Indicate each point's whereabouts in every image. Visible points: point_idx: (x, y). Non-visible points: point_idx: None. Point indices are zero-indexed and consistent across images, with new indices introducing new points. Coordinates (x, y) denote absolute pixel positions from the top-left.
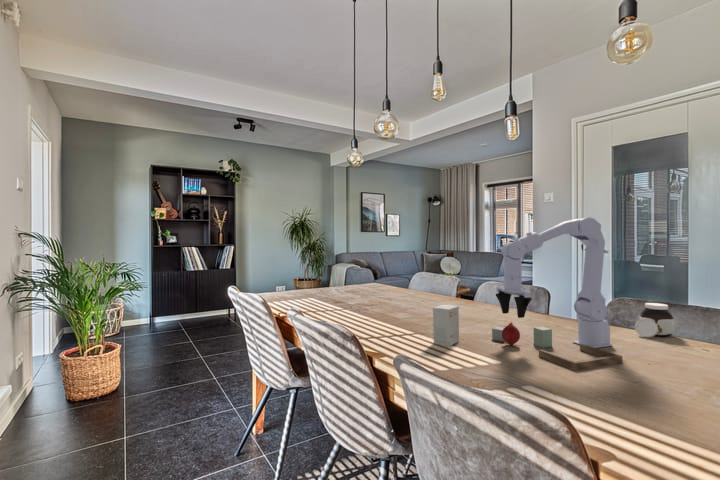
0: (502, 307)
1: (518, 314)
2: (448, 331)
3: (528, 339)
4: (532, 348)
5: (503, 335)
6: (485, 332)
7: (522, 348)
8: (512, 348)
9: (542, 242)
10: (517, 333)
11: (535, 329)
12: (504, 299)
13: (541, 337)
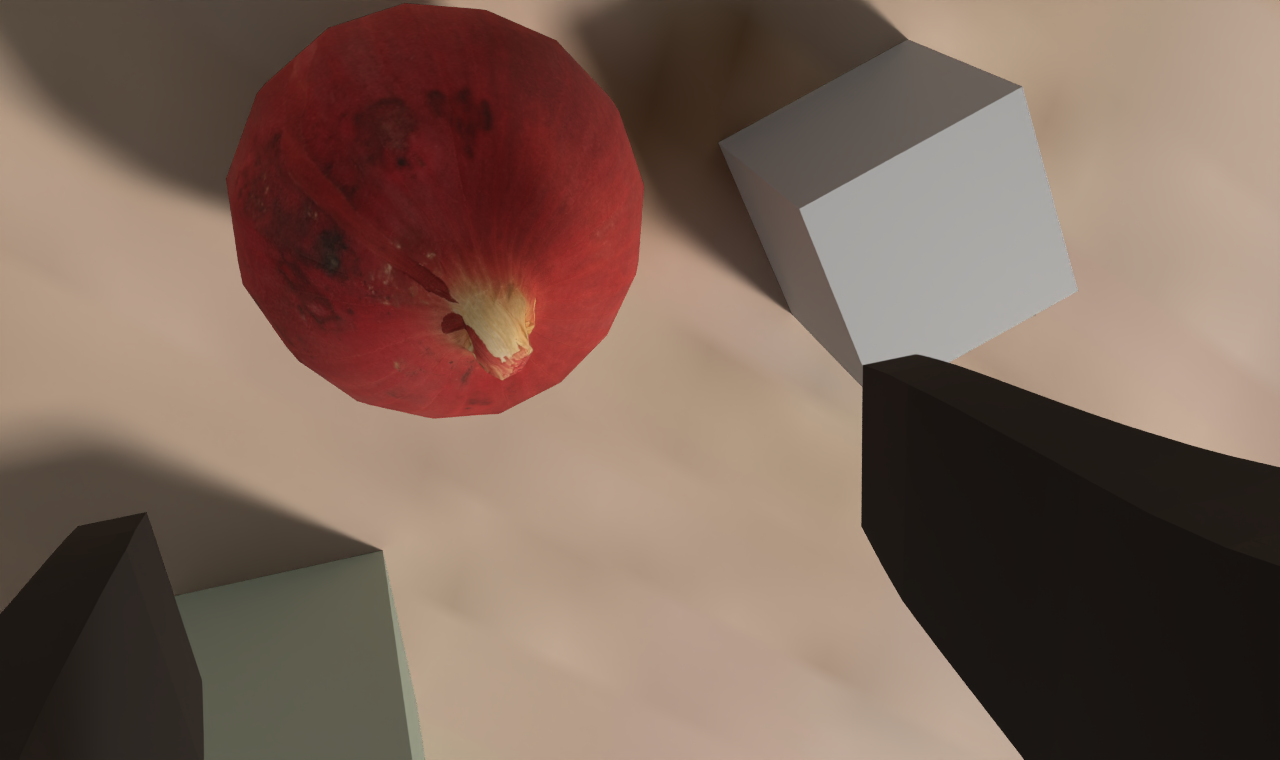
0: (983, 423)
1: (51, 569)
2: None
3: (670, 608)
4: (158, 420)
5: (434, 6)
6: (1269, 153)
7: (182, 247)
8: (208, 52)
9: None
10: (260, 301)
11: (355, 755)
12: (1196, 733)
13: None
